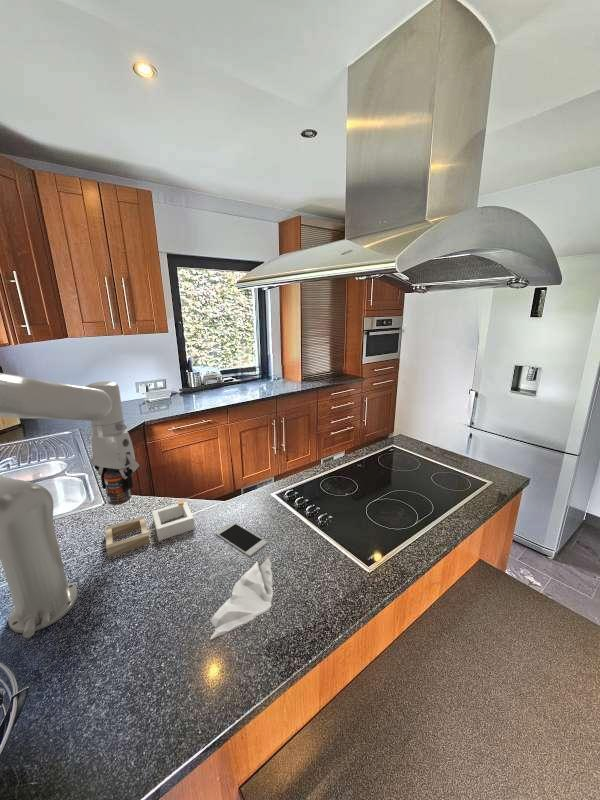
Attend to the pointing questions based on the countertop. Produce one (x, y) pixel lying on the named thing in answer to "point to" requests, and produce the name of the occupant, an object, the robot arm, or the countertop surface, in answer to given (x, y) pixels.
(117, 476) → the supplement bottle
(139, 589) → the countertop surface
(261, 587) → the cloth
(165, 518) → the socket block
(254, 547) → the smartphone
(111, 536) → the block
